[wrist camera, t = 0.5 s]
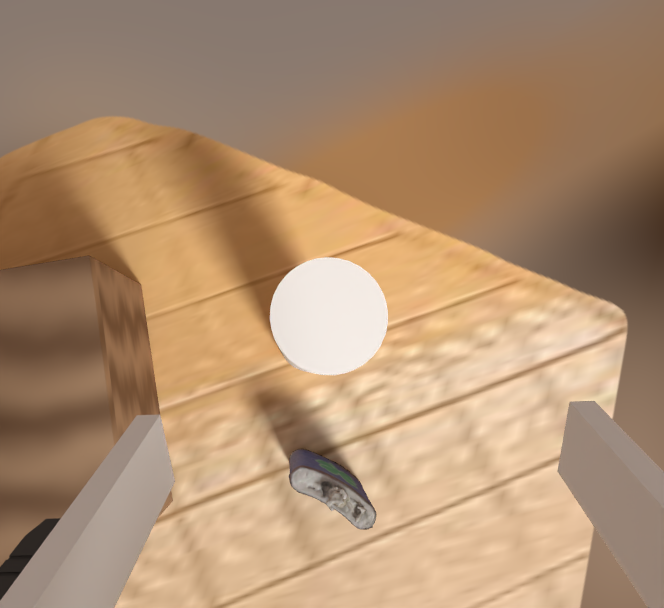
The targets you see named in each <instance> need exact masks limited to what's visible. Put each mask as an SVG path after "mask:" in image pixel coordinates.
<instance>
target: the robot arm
mask: <svg viewBox="0 0 664 608" xmlns="http://www.w3.org/2000/svg"><path fill="white" fill-rule="evenodd" d="M558 473H559V474H560V476H561V477H562V479H563V480H564V482H565V483H566V485H567V486H568V488H569V489H570V491H571V492H572V494H573V495H574V497H575V498H576V500H577V501H578V503H579V504H580V506H581V507H582V509H583V511H584V512H585V514H586V515H587V517H588V518H589V520H590V521H591V523H592V524H593V526H594V527H595V529H596V530H597V532H598V533H599V535H600V536H601V538H602V539H603V541H604V542H605V544H606V545H607V547H608V548H609V550H610V551H611V553H612V554H613V556H614V557H615V559H616V560H617V562H618V563H619V565H620V566H621V568H622V569H623V571H624V572H625V574H626V576H627V577H628V578H629V580H630V581H631V583H632V585H633V586H634V588H635V589H636V591H637V592H638V594H639V595H640V597H641V598H642V600H643V601H644V603H645V604H646V606H647V607H648V608H664V472H663V471H662V470H661V469H660V467H659V466H658V465H657V464H656V463H655V462H654V461H653V460H652V459H651V458H650V457H649V456H648V455H647V454H646V453H645V452H644V451H643V450H642V449H641V448H640V447H639V446H638V445H637V444H636V443H635V442H634V441H633V440H632V439H631V438H630V437H629V436H628V435H627V434H626V433H625V432H624V431H623V430H622V429H621V428H620V427H619V426H618V425H617V424H616V423H615V422H614V421H613V420H612V419H611V418H610V417H609V416H608V414H607V413H606V412H605V411H604V410H603V409H602V408H601V407H600V406H599V405H598V404H597V403H596V402H595V401H579V402H570V403H569V408H568V414H567V420H566V426H565V431H564V437H563V443H562V449H561V454H560V460H559V466H558ZM174 482H175V479H174V475H173V470H172V466H171V461H170V457H169V452H168V448H167V443H166V439H165V434H164V430H163V425H162V421H161V417H160V415H137V416H136V417H135V419H134V420H133V421H132V423H131V424H130V425H129V427H128V428H127V429H126V431H125V432H124V433H123V435H122V436H121V438H120V439H119V440H118V442H117V443H116V444H115V446H114V447H113V448H112V450H111V451H110V452H109V454H108V455H107V457H106V458H105V459H104V461H103V462H102V463H101V465H100V466H99V467H98V469H97V470H96V471H95V473H94V474H93V476H92V477H91V478H90V480H89V481H88V482H87V484H86V485H85V486H84V488H83V489H82V490H81V492H80V493H79V495H78V496H77V497H76V499H75V500H74V501H73V503H72V504H71V505H70V507H69V508H68V509H67V511H66V512H65V514H64V515H63V516H62V518H53V519H45V520H44V521H43V522H41V523H40V524H39V525H38V526H37V527H35V528H34V529H33V530H32V531H30V532H29V533H28V534H27V535H25V536H24V538H23V539H22V540H21V541H20V543H19V544H18V545H17V546H16V548H15V549H14V550H13V551H12V553H11V554H10V555H9V559H8V560H5V562H4V563H3V564H2V565H1V567H0V608H114V607H115V605H116V603H117V601H118V599H119V596H120V594H121V592H122V590H123V588H124V586H125V584H126V582H127V580H128V578H129V576H130V574H131V572H132V569H133V567H134V565H135V563H136V561H137V559H138V557H139V555H140V553H141V551H142V549H143V547H144V545H145V542H146V540H147V538H148V536H149V534H150V532H151V530H152V528H153V526H154V524H155V522H156V520H157V518H158V516H159V513H160V511H161V509H162V507H163V505H164V503H165V501H166V499H167V497H168V495H169V493H170V491H171V489H172V486H173V484H174Z"/></svg>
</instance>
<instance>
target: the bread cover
mask: <svg viewBox="0 0 664 608" xmlns="http://www.w3.org/2000/svg"><path fill="white" fill-rule="evenodd" d="M137 415H160V411H159V404H158V397H157V390H156V383H155V377H154V370H153V363H152V356H151V349H150V342H149V336H148V329H147V322H146V315H145V308H144V301H143V295H142V288H141V284H139V283H137V282H135V281H134V280H132V279H130V278H128V277H126V276H125V275H123V274H121V273H119V272H118V271H116V270H114V269H112V268H110V267H109V266H107V265H105V264H103V263H101V262H100V261H98V260H96V259H94V258H93V257H91V256H84V257H78V258H72V259H65V260H59V261H53V262H47V263H40V264H34V265H28V266H22V267H16V268H9V269H3V270H0V567H1V565H2V564H3V563H4V562H5V560H8V559H9V555H10V554H11V553H12V551H13V550H14V549H15V548H16V546H17V545H18V544H19V543H20V541H21V540H22V539H23V538H24V536H25V535H27V534H28V533H29V532H30V531H32V530H33V529H34V528H35V527H37V526H38V525H39V524H40V523H41V522H43V521H44V520H45V519H53V518H62V516H63V515H64V514H65V512H66V511H67V509H68V508H69V507H70V505H71V504H72V503H73V501H74V500H75V499H76V497H77V496H78V495H79V493H80V492H81V490H82V489H83V488H84V486H85V485H86V484H87V482H88V481H89V480H90V478H91V477H92V476H93V474H94V473H95V471H96V470H97V469H98V467H99V466H100V465H101V463H102V462H103V461H104V459H105V458H106V457H107V455H108V454H109V452H110V451H111V450H112V448H113V447H114V446H115V444H116V443H117V442H118V440H119V439H120V438H121V436H122V435H123V433H124V432H125V431H126V429H127V428H128V427H129V425H130V424H131V423H132V421H133V420H134V419H135V417H136V416H137ZM172 501H173V500H172V493H171V491H170V493H169V495H168V497H167V499H166V501H165V503H164V505H163V507H162V509H161V511H160V513H159V516H160V515H161V514H162V512H163V511H164V510H165V509H166V508H167V507H168V506H169V505H170V503H171V502H172ZM159 516H158V517H159Z"/></svg>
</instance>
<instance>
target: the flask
mask: <svg viewBox="0 0 664 608" xmlns="http://www.w3.org/2000/svg"><path fill="white" fill-rule="evenodd" d="M289 463H290V474H289V479H290V484H291V486H292V487H293V488H294V489H295V490H296V491H297V492H299V493H302V494H305V495H308V496H311V497H313V498H316V499H318V500H320V501H321V502H323V503H325V504H326V505H327V506H328V507H329V509H330V510H331V511H332V510H334V509H335V510H336V511H338V512H339V513H341V514H342V515H343V516H344V517H346V518H347V519H348V520H349V521H350V522H351V523H352V524H353V525H354V526H355V527H357V528H358V529H369V528H372V527H373V524H374V523H375V520H376V511H375V509H374V507H373V506H372V504H371V502H370V501H369V499H368V497H367V495H366V493H365V491H364V489H363V487H362V485H361V483H360V482H359V481H358V479H357V478H356V477H355V476H354V475H352V474H351V473H350V472H349V471H348V470H346V469H345V468H344V467H342V466H341V465H339V464H337V463H336V462H334V461H331V460H329V459H327V458H325V457H323V456H321V455H318V454H317V453H314V452H311V451H309V450H304V449H298V450H295V451H294V452H293V453H292V454H291V455H290V458H289Z"/></svg>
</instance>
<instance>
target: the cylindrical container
mask: <svg viewBox="0 0 664 608" xmlns="http://www.w3.org/2000/svg"><path fill="white" fill-rule="evenodd" d="M270 323H271V330H272V333H273V336H274V339H275V341H276V343H277V345H278V347H279V349H280V350H281V352H282V354H283V356H284V358H285V359H286V360H287V361H288V363H289V364H291V365H292V366H293V367H295V368H297V369H299V370H302V371H306V372H310V373H315V374H320V375H338V374H344V373H347V372H350V371H352V370H355V369H357V368H358V367H360V366H362V365H363V364H365V363H366V362H367V361H368V360H369V359H370V358H371V357H373V356H374V354H375V353H376V351H377V350H378V349H379V347H380V346H381V343H382V341H383V339H384V337H385V334H386V329H387V324H388V310H387V304H386V300H385V298H384V295H383V292H382V290H381V289H380V287H379V285H378V283H377V282H376V281H375V280H374V279H373V277H372V276H371V275H370V274H369V273H368V272H366V271H365V270H364V269H363V268H361V267H360V266H358V265H356V264H354V263H352V262H350V261H347V260H343V259H339V258H328V257H325V258H318V259H313V260H310V261H307V262H304V263H303V264H301V265H299V266H297V267H295V268H294V269H293V270H292V271H290V272H289V273H288V274H287V275H286V276H285V277H284V279H283V280H282V281H281V282H280V284H279V285H278V287H277V289H276V291H275V293H274V295H273V299H272V303H271V307H270Z"/></svg>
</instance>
